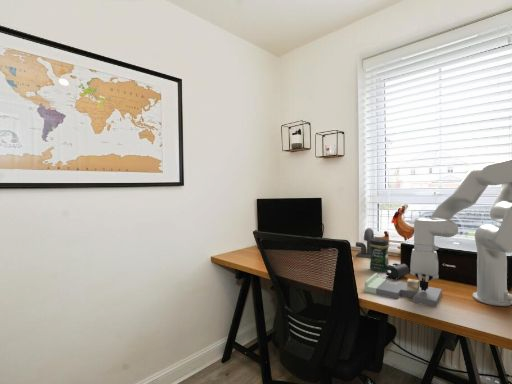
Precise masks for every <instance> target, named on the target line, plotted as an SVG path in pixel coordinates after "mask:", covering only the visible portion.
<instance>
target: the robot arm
mask: <svg viewBox="0 0 512 384" xmlns="http://www.w3.org/2000/svg"><path fill="white" fill-rule="evenodd" d="M498 185H499V186H500V185H501V188H500V191H499V193H498V194H497V197H496V199H495V201H494V203H493V204H492V207H491V209H490V210H489V217H490V218H491V220H492V221H494V222H496V223H498V224H500V225H497V224H491V223H490V224H489V223H486V224H483V225H480V226H479V227H477V229H476V231H475V233H474V241H475V245H476V255H477V256H476V257H477V259H476V292H473V293H472V298H473V299H474V300H476V301H478V302H480V303H483V304H485V305H490V306H495V307H496V306H497V307H509V306H511V305H512V294H511V293H509V291H508V285H507V283H508V281H507V279H508V275H507V274H508V259H507V257H508V256H507V254H512V156H509V157H504V158H501V159H499V160H498V161H496V162H493V163H485V164H476V165H475V166H472V168H470V170H469V171H468V172H467V173H466V175H465V176H464V178H463V179H462V181H461V182H460V184H459V185H458V186H457V187H456V189H455V191H454V192H452V194H451V195H450V196H449V197H447V198H446V199H445V200H444V201H442V202H441V203H440V204H439V205H438V206H437V207H436V208H435V210H434V212H433V213H432V214H431V215H430V217H429V218H415V220H414V221H413V230H414V231H413V248H412V250H411V256H410V265H409V267H410V268H409V274H410V275H412V276H414V277H416V278H417V280H419V285H420V288H421V290H422V291H423V290H424V291H426V289H428V287H429V282H430V281H431V280H436V279H438V280H439V257H438V253H437V250H439V246H438V245H435V244H436V243H435V237H441V238H453V237H455V236H456V235H457V234H458V233H459V226H458V224H457V223H456V221H453V220H452V218H453V217H454V216H455V215H457V214H458V213H459V212H461V211H464V210H465V209H469V208H470V207H473V206H474V205H476V203H477V202H478V200H479V199H480V197H481V196H482V195H483V193H484V192H485V191H486V189H487V188H488V187H489V186H498ZM423 275H425V279H424V276H423Z"/></svg>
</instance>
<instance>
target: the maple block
mask: <svg viewBox="0 0 512 384" xmlns="http://www.w3.org/2000/svg"><path fill="white" fill-rule="evenodd" d="M406 283H407V290H409V291H415V292H418V290H419V285H420V281H419V279H413V278H408V279H407V281H406Z"/></svg>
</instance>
